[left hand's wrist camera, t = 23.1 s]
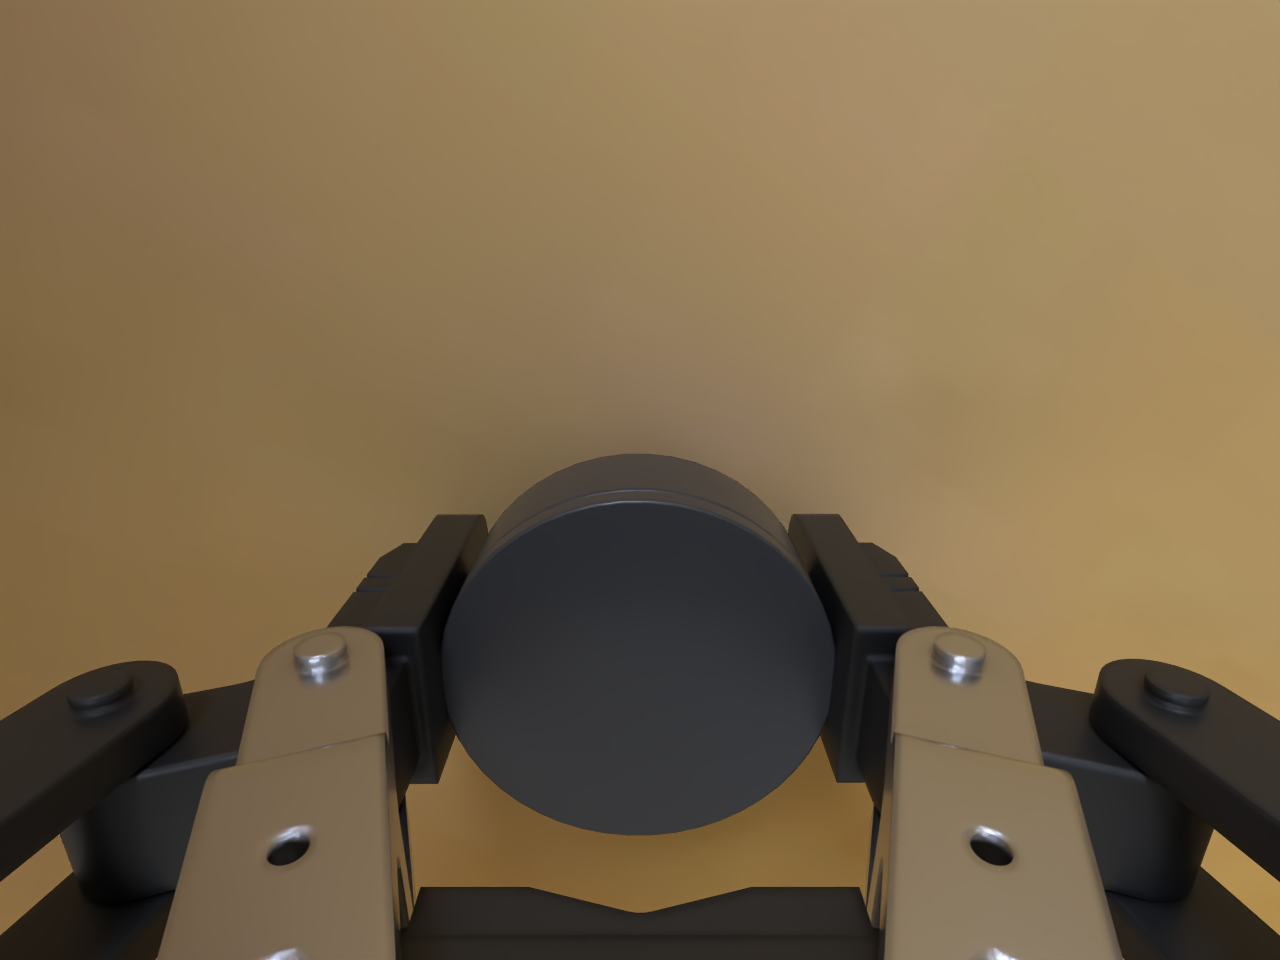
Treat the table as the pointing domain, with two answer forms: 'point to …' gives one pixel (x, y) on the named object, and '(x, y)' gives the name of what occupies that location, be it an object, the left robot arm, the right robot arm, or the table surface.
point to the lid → (638, 648)
